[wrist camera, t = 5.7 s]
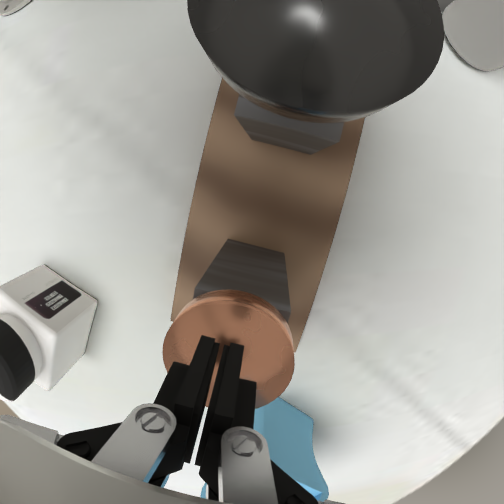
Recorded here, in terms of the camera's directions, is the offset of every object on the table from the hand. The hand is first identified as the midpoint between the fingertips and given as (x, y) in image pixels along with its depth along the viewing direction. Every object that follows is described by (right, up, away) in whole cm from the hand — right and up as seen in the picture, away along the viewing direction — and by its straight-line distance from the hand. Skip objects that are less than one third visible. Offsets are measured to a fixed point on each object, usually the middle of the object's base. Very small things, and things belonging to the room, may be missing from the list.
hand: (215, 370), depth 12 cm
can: (+22, +25, +8) cm, 34 cm away
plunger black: (+4, +13, +5) cm, 14 cm away
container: (-18, -2, +17) cm, 25 cm away
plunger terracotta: (+1, +3, +13) cm, 13 cm away
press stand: (+3, +9, +13) cm, 16 cm away
